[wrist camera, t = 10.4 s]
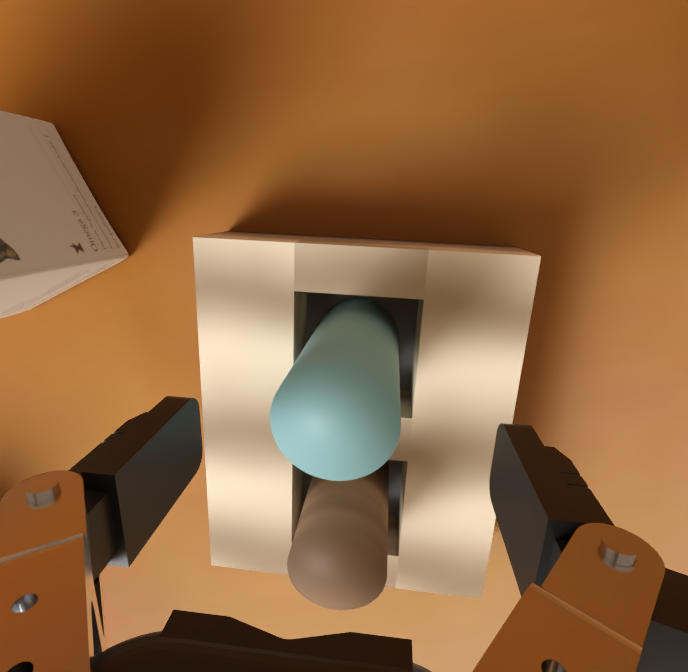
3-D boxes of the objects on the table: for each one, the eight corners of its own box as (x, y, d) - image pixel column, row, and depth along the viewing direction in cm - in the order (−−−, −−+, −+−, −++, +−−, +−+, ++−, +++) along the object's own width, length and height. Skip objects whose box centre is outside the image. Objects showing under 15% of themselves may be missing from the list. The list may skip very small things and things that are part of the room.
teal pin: (319, 295, 21) (269, 356, 13) (401, 301, 21) (406, 367, 13) (317, 371, 23) (270, 473, 14) (395, 378, 22) (395, 487, 14)
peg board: (227, 231, 22) (139, 246, 14) (514, 246, 21) (584, 271, 13) (237, 514, 27) (175, 636, 19) (468, 540, 26) (499, 681, 18)
